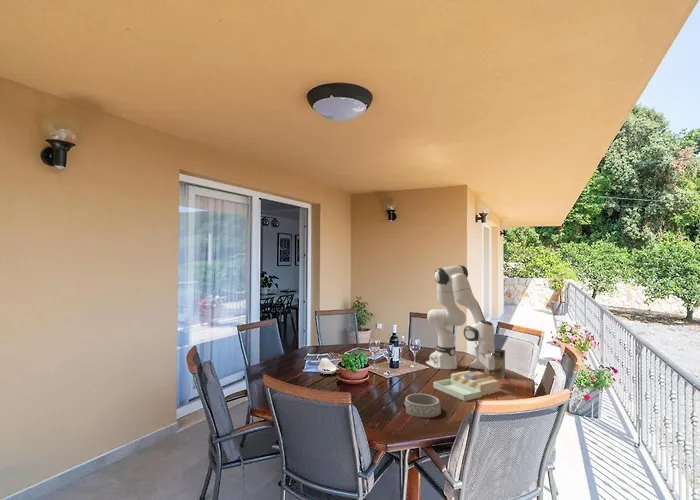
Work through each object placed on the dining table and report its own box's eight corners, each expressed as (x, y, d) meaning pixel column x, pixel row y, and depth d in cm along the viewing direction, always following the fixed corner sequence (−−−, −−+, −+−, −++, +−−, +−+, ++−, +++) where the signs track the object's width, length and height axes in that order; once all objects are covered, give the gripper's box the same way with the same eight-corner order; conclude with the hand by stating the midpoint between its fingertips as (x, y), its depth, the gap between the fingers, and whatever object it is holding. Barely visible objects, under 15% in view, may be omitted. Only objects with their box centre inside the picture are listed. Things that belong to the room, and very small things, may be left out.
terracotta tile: (471, 375, 215) (471, 372, 215) (477, 374, 217) (477, 371, 217) (478, 378, 210) (478, 374, 210) (484, 377, 213) (484, 373, 213)
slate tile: (464, 377, 211) (464, 374, 211) (469, 376, 214) (469, 372, 214) (471, 379, 207) (471, 376, 207) (477, 378, 210) (477, 374, 210)
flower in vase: (488, 371, 245) (488, 332, 246) (470, 370, 247) (470, 332, 248) (485, 365, 258) (485, 329, 259) (468, 364, 260) (467, 328, 261)
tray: (433, 387, 213) (433, 381, 213) (449, 383, 219) (449, 378, 219) (464, 401, 192) (464, 395, 192) (481, 396, 198) (481, 391, 198)
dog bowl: (434, 402, 190) (434, 392, 190) (445, 417, 172) (445, 406, 172) (401, 403, 189) (401, 392, 190) (408, 418, 171) (408, 406, 171)
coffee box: (488, 375, 235) (488, 350, 235) (490, 373, 240) (490, 348, 241) (503, 378, 230) (503, 351, 231) (505, 375, 236) (505, 349, 236)
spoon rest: (338, 376, 234) (338, 364, 234) (319, 377, 231) (319, 365, 231) (330, 365, 257) (330, 355, 257) (313, 367, 254) (313, 356, 254)
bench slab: (450, 384, 218) (450, 374, 218) (468, 380, 225) (468, 370, 225) (480, 396, 199) (480, 384, 199) (498, 392, 205) (498, 380, 206)
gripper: (497, 353, 207) (498, 378, 206) (486, 345, 227) (486, 368, 227) (486, 353, 207) (486, 378, 207) (476, 345, 228) (476, 368, 227)
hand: (486, 373), depth 217 cm, fingers closed
